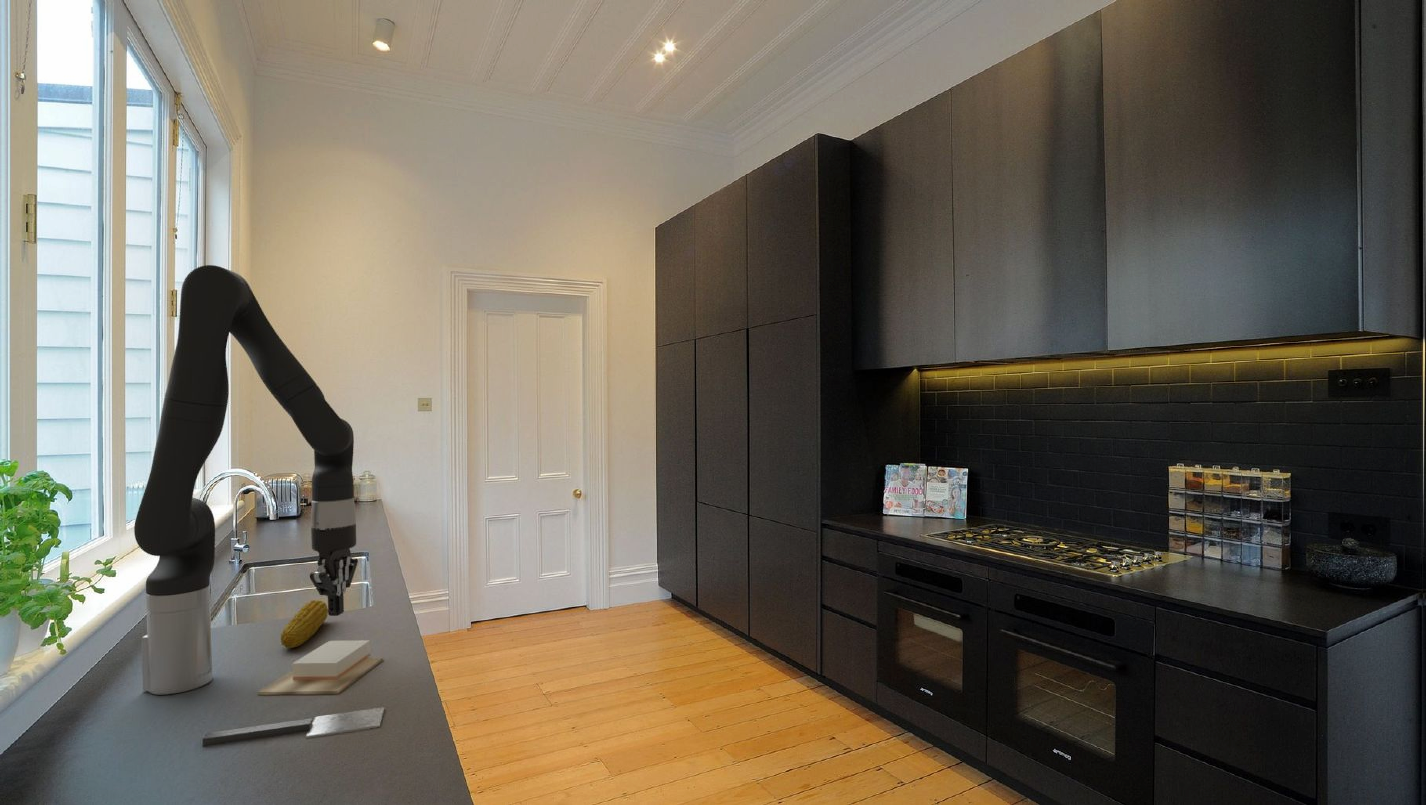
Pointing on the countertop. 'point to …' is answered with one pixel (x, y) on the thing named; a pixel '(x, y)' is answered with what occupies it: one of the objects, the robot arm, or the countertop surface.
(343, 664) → the sponge
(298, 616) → the food
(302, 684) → the board
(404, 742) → the countertop surface
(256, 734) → the knife with black handle
